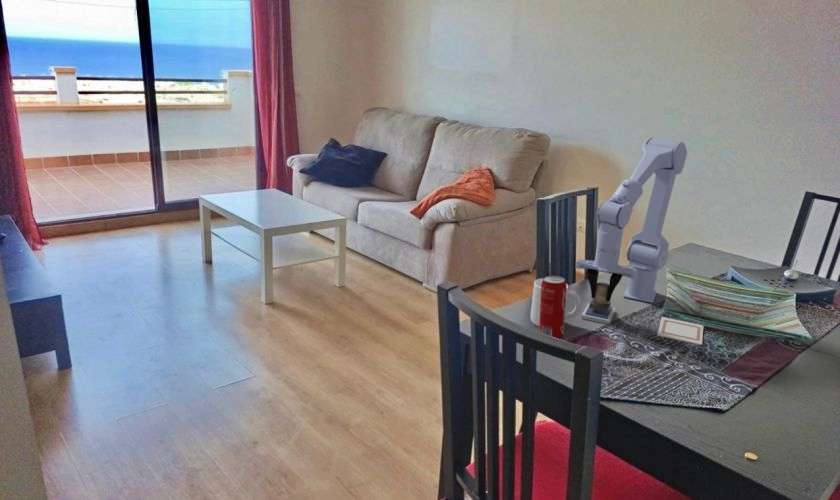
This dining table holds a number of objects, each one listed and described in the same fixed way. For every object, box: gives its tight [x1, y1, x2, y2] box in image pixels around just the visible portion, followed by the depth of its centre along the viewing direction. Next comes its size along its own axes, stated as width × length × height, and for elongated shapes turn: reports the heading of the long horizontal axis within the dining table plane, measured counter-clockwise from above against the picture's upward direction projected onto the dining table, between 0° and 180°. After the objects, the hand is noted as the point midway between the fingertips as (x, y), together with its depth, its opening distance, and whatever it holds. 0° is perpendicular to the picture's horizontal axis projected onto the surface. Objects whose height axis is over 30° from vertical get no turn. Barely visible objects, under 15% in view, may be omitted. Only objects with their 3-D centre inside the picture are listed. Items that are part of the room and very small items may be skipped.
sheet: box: [656, 316, 704, 346], centre depth 151 cm, size 12×10×1 cm
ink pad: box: [581, 302, 616, 325], centre depth 158 cm, size 9×7×1 cm
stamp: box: [589, 282, 612, 312], centre depth 156 cm, size 4×4×6 cm
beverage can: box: [538, 275, 568, 340], centre depth 142 cm, size 6×6×15 cm
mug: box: [529, 277, 582, 327], centre depth 151 cm, size 12×8×10 cm
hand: (600, 298), depth 157 cm, fingers closed on stamp, 3 cm apart
